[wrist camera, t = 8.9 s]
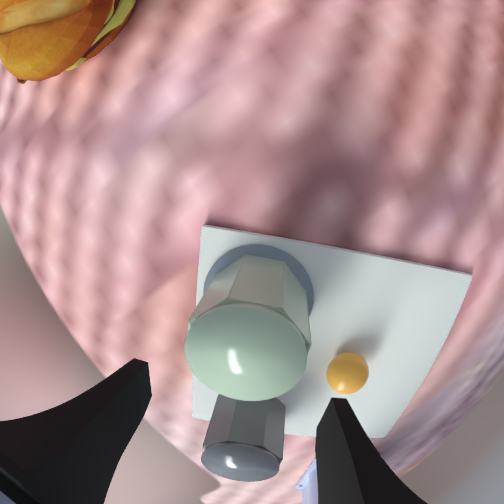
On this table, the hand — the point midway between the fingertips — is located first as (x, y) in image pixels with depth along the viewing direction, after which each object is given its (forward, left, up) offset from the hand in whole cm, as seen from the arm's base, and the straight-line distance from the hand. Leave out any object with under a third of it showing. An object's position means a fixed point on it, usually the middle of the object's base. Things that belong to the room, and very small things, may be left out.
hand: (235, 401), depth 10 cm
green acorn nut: (0, 0, -8) cm, 8 cm away
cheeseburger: (+19, +15, -10) cm, 26 cm away
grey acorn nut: (-11, -1, -9) cm, 14 cm away
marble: (-4, -7, -7) cm, 11 cm away
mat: (-5, -5, -9) cm, 12 cm away
